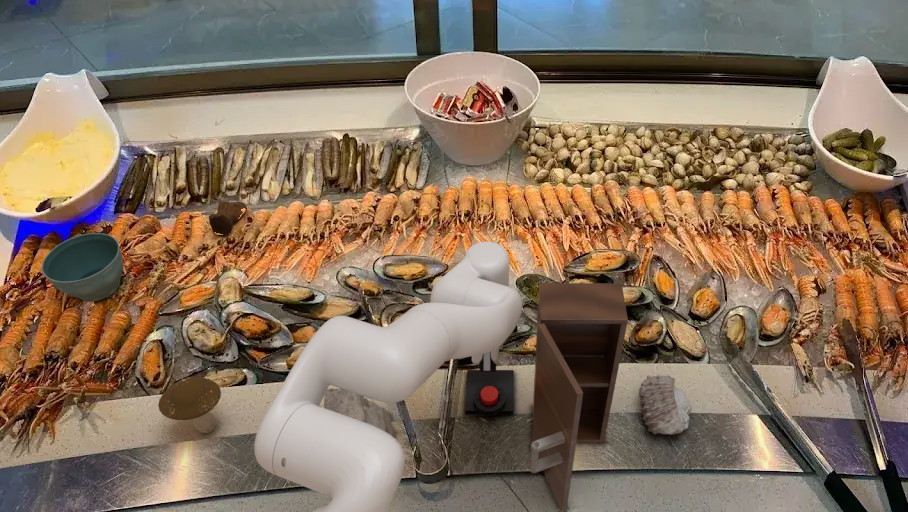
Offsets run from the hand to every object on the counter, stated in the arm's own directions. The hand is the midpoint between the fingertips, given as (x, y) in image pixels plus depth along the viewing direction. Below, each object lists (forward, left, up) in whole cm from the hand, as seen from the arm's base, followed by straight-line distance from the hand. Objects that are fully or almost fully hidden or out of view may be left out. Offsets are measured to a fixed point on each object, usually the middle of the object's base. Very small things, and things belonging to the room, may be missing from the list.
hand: (487, 368), depth 128 cm
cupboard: (+8, -14, -15) cm, 22 cm away
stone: (-21, +15, -15) cm, 30 cm away
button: (+1, 0, -12) cm, 11 cm away
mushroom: (-40, +41, -15) cm, 59 cm away
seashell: (+23, -28, -15) cm, 39 cm away
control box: (+3, +2, -15) cm, 15 cm away
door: (-6, -17, -14) cm, 23 cm away
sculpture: (-3, +92, -15) cm, 93 cm away
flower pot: (-36, +95, -15) cm, 102 cm away
